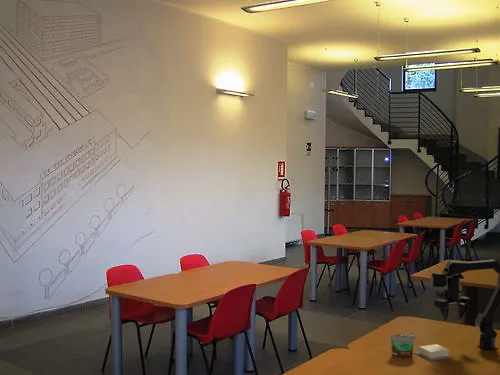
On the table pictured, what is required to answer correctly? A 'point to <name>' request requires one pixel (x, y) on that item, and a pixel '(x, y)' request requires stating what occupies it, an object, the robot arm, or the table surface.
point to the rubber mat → (433, 358)
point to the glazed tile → (434, 351)
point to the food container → (402, 345)
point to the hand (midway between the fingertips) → (452, 319)
